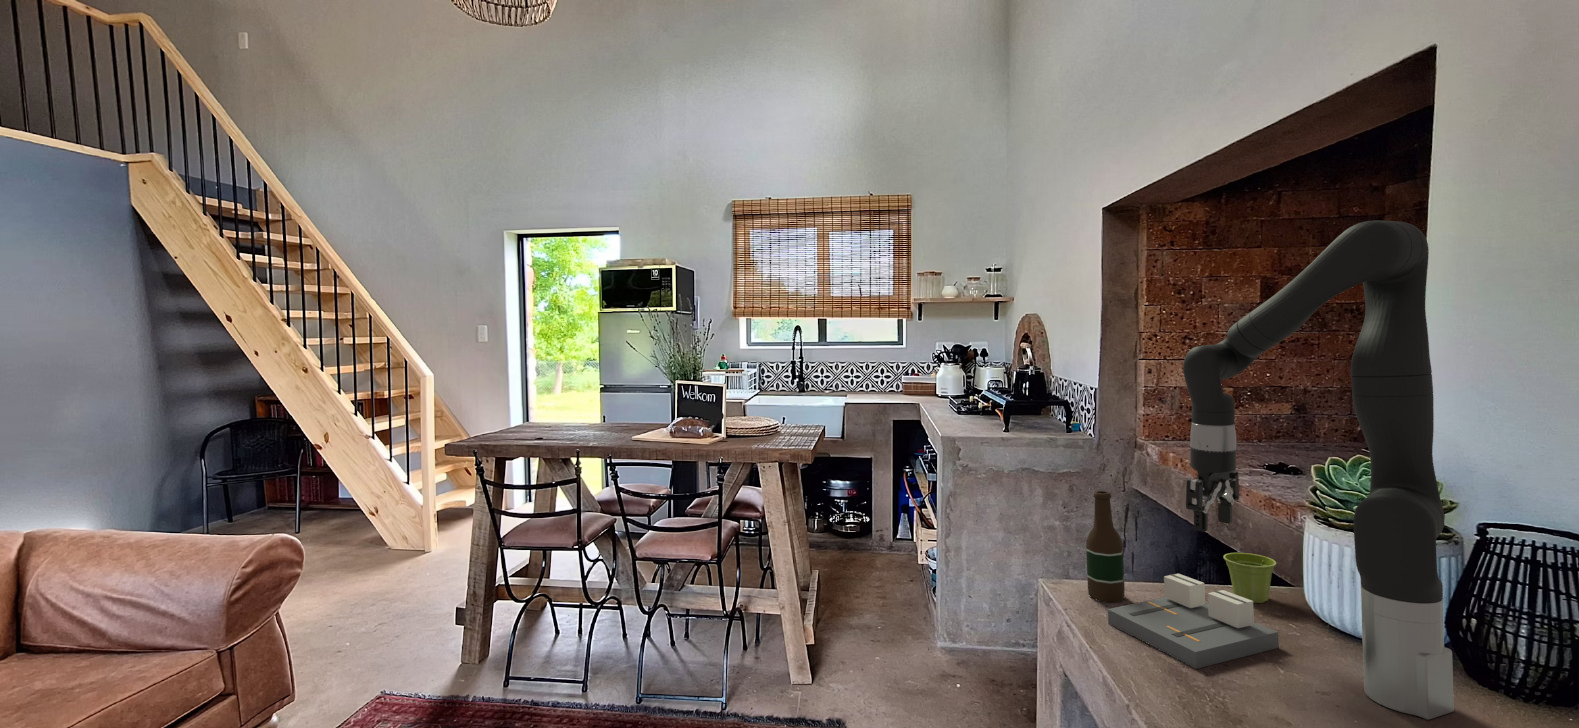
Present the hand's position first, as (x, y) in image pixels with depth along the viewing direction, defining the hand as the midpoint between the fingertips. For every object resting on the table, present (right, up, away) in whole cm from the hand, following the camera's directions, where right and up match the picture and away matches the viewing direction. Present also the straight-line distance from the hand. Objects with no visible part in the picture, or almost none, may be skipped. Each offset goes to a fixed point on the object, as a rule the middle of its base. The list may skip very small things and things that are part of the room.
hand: (1213, 526), depth 125 cm
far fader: (-2, -17, +6) cm, 18 cm away
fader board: (-6, -21, -1) cm, 22 cm away
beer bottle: (-12, -21, +19) cm, 31 cm away
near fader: (+1, -17, -3) cm, 18 cm away
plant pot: (+18, -20, +14) cm, 30 cm away
